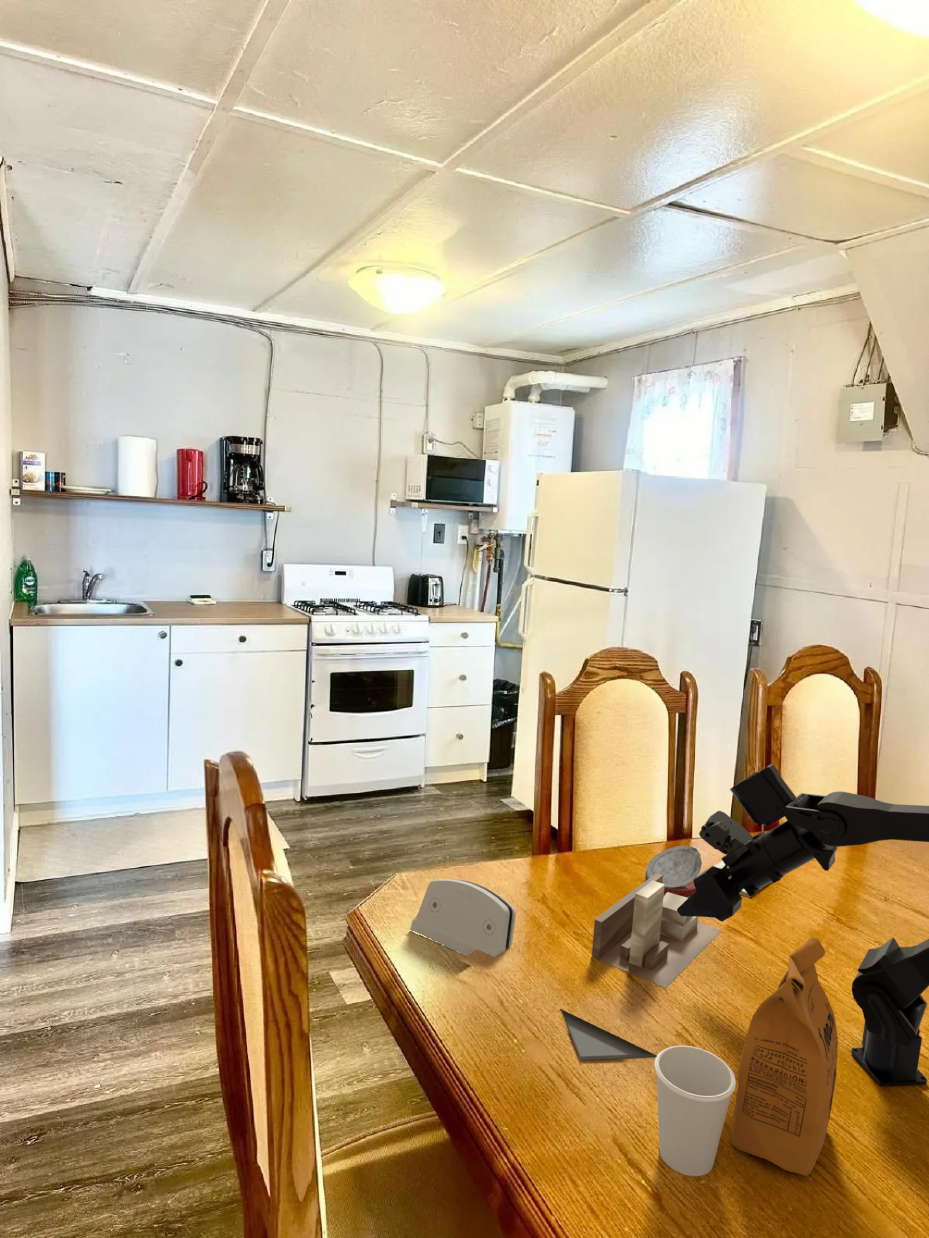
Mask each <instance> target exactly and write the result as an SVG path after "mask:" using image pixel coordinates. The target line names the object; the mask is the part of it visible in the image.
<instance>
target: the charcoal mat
mask: <svg viewBox="0 0 929 1238" xmlns="http://www.w3.org/2000/svg"><path fill="white" fill-rule="evenodd" d="M560 1012H561V1014H562V1017H563V1019H564V1022H565V1025H566V1028H567V1029H568V1033H569V1034H570V1037H571V1040H572V1043H573V1045H574V1047H575V1050H576V1053H577V1055H578V1057H579V1059H580V1061H586V1060H587V1061H588V1060H589V1061H591V1060H594V1061H595V1060H619V1059H620V1060H622V1059H646V1058H651V1059H652V1058H653V1059H654V1058H656V1057H657V1055H658V1054H655V1053H652V1052H650V1051H649V1050H647V1049H645V1048H642V1047H641V1046H638V1045H636V1044H634V1043H632V1042H630V1041H627V1040H625V1039H623V1038H622V1037H619V1036H617V1035H615V1034H613V1033H611V1032H609V1031H607V1030H605V1029H604V1028H601V1027H599V1026H597V1025H595V1024H593V1023H591V1022H590V1021H589V1022H588V1021H587V1020H584V1019H583V1018H581V1017H578V1016H576V1015H574V1014H572V1013H570V1012H568V1011H566V1010H564V1009H562V1008H560Z"/></svg>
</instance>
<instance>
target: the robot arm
mask: <svg viewBox="0 0 929 1238" xmlns="http://www.w3.org/2000/svg"><path fill="white" fill-rule="evenodd" d="M729 791H731V793H732V795H733V797H735V798H736V800H737V801H738V803H739V804H740V806H741V807H742V808H743V809H744V811H745V812H746V814H747V815H748V817H749V818H750V820H751V821H752V822H753V823H754V825H756V824H757V826H758V827H761V826H763V825H764V826H765V827H766V828H768V827H769V826H771V825H774V824H775V823H776V822H778V821H780V820H781V819H783V818H785V820H786V821H784V822H782V823H781V824H779V825H777V826H776V827H774V828H772V829H770V830H767V831H766V832H762V834H761V832H757V833H756V834H754V835H752V834H750V832H748V831H747V830H746V828H745V827H744V826H742V825H741V824H740V823H739V822H737V821H736V820H734V819H733V818H732V817H731V816H729V814H727V813H726V812H724V811H722V810H717V811H716V812H714V813H713V814H711V815H710V816H709V818H707V820H706V822H705V823H704V824H703V825H702V826H701V829H700V830H699V832H698V835H699V837H700V838H701V839H702V840H703V841H704V842H706V843H707V844H708V845H709V846H710V847H712V848H713V849H715V850H718V851H719V852H720V853H722V854H723V855H724V856H722V857H721V861H723V862H724V863H725V866H724V867H723V868H722V869H721V868H717V867H714V865H712V866H710V867H708V868H707V869H705V870H704V871H702V872H701V873H699V874H698V875H697V877H696V878H695V879H694V880H693V881H694V886H695V892H694V893H693V894H692V895H691V896H688V897H687V898H688V899H687V900H686V901H685V902H684V903H683V904H682V905H681V906H680V907H678V908H677V911H678V913H679V914H680V916H692V917H698V918H700V917H702V918H711V919H712V918H713V919H716V920H718V921H720V922H721V923H722V922H724V921H726V920H728V919H729V918H732V917H733V916H734V915H735V914H736V913H737V912H738V911H739V910H740V909H741V908H742V902H743V897H742V895H740V894H739V893H740V892H741V891H742V890H743V889H745V891H746V892H747V894H748V895H749V898H750V897H752V896H753V895H755V894H756V893H758V890H759V889H760V888H761V889H763V888H764V887H766V886H767V885H769V884H771V883H773V884H776V883H777V882H779V881H781V880H782V879H783V878H784V876H785V875H787V874H789V873H790V872H792V871H795V870H797V869H798V868H800V867H802V866H804V865H805V864H807V863H809V862H811V861H813V860H814V859H815V860H816V862H818V864H819V865H820V867H821V868H822V870H823V871H826V872H827V871H829V870H830V869H831V868H832V867H833V866H834V864H835V862H836V852H837V850H838V848H840V847H841V848H842V847H850V846H861V845H867V844H872V843H876V842H880V841H882V842H883V841H892V840H893V841H908V842H920V843H921V842H922V843H929V805H920V804H919V805H917V804H916V805H915V804H899V803H898V804H897V803H896V804H895V803H889V802H884V801H881V800H877V799H875V798H873V797H870V796H865V795H862V794H857V793H852V792H847V791H839V790H838V791H834V792H830V793H829V794H827V795H822V794H812V793H805V792H804V793H803V792H800V793H799V794H798V795H795V793H794V792H793V791H792V789H791V788H790V787H789V785H788V784H787V783H786V782H785V780H784V778H783V777H782V776H781V774H780V771H779V770H778V768H777V767H776V766H775V764H773V763H771V764H769V765H767V766H766V767H765V768H762V769H761V770H759V771H755V772H754V773H751V775H749V776H747V777H746V778H744V779H743V780H741V781H740V782H738V783H737V784H735V785H734V786H732V787H731V788H729ZM762 887H763V888H762ZM761 889H760V890H761ZM760 890H759V891H760ZM928 987H929V938H928V939H926V940H923V941H922V942H920V943H918V944H915V945H912V946H902V947H901V946H900V945H899V943H898V942H897V940H896V939H895V938H894V937H891V938H890V939H889V940H887V941H886V942H885V943H884V944H883V945H881V946H879V947H875V948H869V949H868V950H867V952H866V954H865V956H864V957H863V959H862V961H861V963H860V964H859V967H858V968H857V974H856V976H855V977H854V980H853V981H852V983H851V993H852V997H853V1000H854V1001H855V1003H856V1005H857V1006H858V1007H859V1008H860V1009H861V1010H862V1011H861V1012H862V1015H863V1019H864V1026H863V1033H862V1039H861V1040H862V1041H861V1047H851V1048H850V1049H851V1050H850V1053H851V1054H852V1056H853V1057H854V1058H855V1059H856V1060H857V1061H858V1062H859V1064H861V1066H862V1067H863V1068H864V1069H865V1070H866V1071H867V1072H868V1074H869V1075H870V1076H871V1077H872V1078H873V1079H874V1081H875V1082H877V1083H878V1085H881V1086H883V1087H885V1086H886V1087H889V1086H905V1085H906V1086H908V1085H926V1084H928V1078H927V1077H926V1076H925V1075H924V1074H923V1073H922V1072H921V1071H920V1070H919V1062H920V1056H921V1055H920V1054H921V1048H922V1041H923V1037H922V1036H921V1035H920V1033H921V1031H920V1027H921V1024H922V1020H923V1018H924V1015H925V1012H926V1010H927V1007H928V1003H927V1001H926V1000H925V998H923V996H922V994H923V993H924V992H925V991H926V990H927V989H928Z"/></svg>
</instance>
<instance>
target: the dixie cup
mask: <svg viewBox="0 0 929 1238" xmlns="http://www.w3.org/2000/svg"><path fill="white" fill-rule="evenodd" d="M656 1055H657V1057H655V1059H654V1071H655V1073H656V1089H657V1093H656V1094H657V1119H658V1146H659V1147H658V1149H659V1155H660V1157H661V1159H662V1160H663V1161H664V1163H665V1164H666V1165H667V1166H668V1167H670V1168H671V1169H672V1170H673V1171H676V1172H677V1173H679V1174H682V1175H685V1176H687V1177H699V1176H705V1175H707V1174H709V1173H710V1172H711V1171H712V1169H713V1167H714V1163H715V1159H716V1156H717V1152H718V1148H719V1143H720V1140H721V1136H722V1134H723V1133H722V1132H723V1129H724V1126H725V1125H724V1124H725V1121H726V1117H727V1114H728V1108H729V1105H730V1102H731V1097H732V1094H733V1093H734V1091H736V1085H737V1082H736V1076H735V1073H734V1071H732V1069H731V1066H729V1065H728V1064H727V1063H726V1062H725V1061H724V1060H723V1059H722V1058H720V1057H719V1056H717V1055H715V1054H714V1053H712V1052H710V1051H708V1050H705V1049H703V1048H700V1047H696V1046H691V1045H673V1046H669V1047H667V1048H664V1049H662V1050H661V1051H660V1052H659V1053H658V1054H656Z"/></svg>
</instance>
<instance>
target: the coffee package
mask: <svg viewBox="0 0 929 1238" xmlns="http://www.w3.org/2000/svg"><path fill="white" fill-rule="evenodd" d="M825 954H826V950H825V948H824V946H823V944H822V943H821V940H820V939H819V938H817V937H811V938H809V939H808V940H807V941H806V942H805V943H803V944H802V945H801V946H800V947H798V948H797V949H795V950H794V951H793V952H792V953H790V954H789V955H788V961H787V962H788V963H787V964H788V965H787V970H786V972H785V974H784V976H783V977H782V979H781V981H780V983H778V984H779V985H778V987H777V989H776V990H775V991H774V992H772V993H771V994H770V995H769V996H767V997H766V998H765V999H763V1001H762V1002H760V1004H759V1006H758V1007H757V1009H756V1010H755V1011H754V1013H753V1015H752V1017H751V1019H750V1023H749V1026H748V1030H747V1034H746V1036H745V1040H744V1044H743V1048H742V1051H741V1055H740V1061H739V1066H738V1080H737V1081H738V1082H737V1084H738V1085H737V1090H736V1096H735V1103H734V1110H733V1118H732V1125H731V1144H732V1145H733V1147H735V1148H736V1149H737V1150H739V1151H741V1152H745V1153H748V1154H749V1155H752V1156H754V1157H758V1158H761V1159H765V1160H767V1161H769V1162H770V1163H773V1164H774V1165H776V1166H778V1167H779V1168H781V1169H783V1170H785V1171H786V1172H790V1173H796V1174H798V1175H802V1176H804V1177H805V1176H806V1177H807V1176H808V1175H810V1174H811V1172H813V1169H814V1166H815V1165H816V1163H817V1161H818V1158H819V1156H820V1153H821V1151H822V1148H823V1146H824V1144H825V1140H826V1136H827V1132H828V1128H829V1123H830V1119H831V1111H832V1108H833V1107H832V1106H833V1100H834V1099H833V1098H834V1092H835V1088H836V1087H835V1086H836V1081H837V1069H838V1067H837V1066H838V1065H837V1064H838V1047H839V1043H838V1042H839V1040H838V1037H839V1036H838V1031H837V1030H838V1029H837V1023H836V1017H835V1013H834V1010H833V1007H832V1005H831V1003H830V1001H829V998H828V996H827V994H826V993H825V991H824V989H823V987H822V985H821V984H820V982H819V977H818V972H817V968H816V963H817V962H818V961H820V960H821V959H822V958H823V957H824V955H825Z"/></svg>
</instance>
